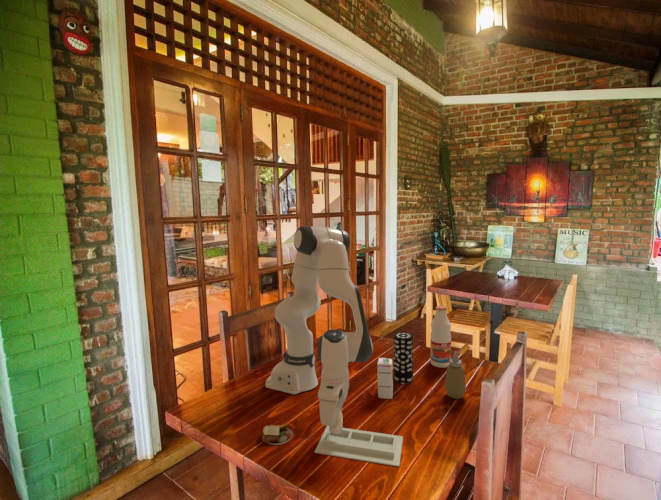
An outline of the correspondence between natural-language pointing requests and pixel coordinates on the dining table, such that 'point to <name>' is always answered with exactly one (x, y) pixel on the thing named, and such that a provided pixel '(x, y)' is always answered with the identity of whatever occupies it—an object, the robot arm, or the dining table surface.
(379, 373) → the syrup box
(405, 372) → the white-spotted black cylinder
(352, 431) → the egg tray
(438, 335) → the fruit juice
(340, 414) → the egg
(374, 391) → the dining table surface
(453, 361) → the squeeze bottle
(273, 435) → the toy sandwich meal
